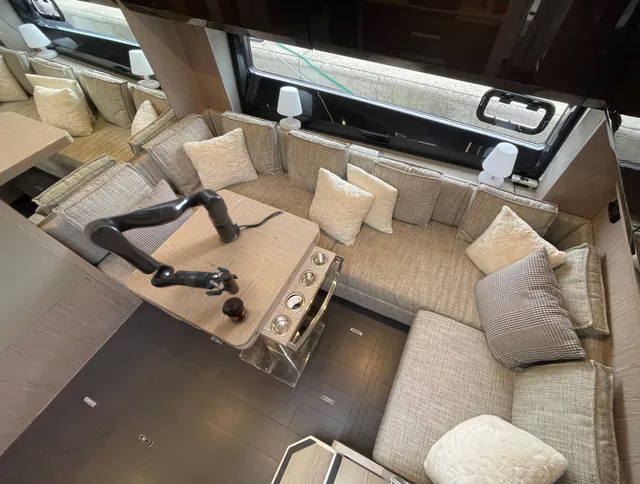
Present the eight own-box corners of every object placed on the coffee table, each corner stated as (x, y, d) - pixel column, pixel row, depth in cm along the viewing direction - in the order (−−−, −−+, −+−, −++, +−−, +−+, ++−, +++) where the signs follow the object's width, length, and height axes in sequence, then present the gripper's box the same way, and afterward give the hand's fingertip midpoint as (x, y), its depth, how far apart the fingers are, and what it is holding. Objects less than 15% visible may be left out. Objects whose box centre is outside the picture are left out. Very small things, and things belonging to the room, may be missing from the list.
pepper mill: (232, 283, 134) (223, 269, 123) (241, 286, 133) (233, 272, 122) (225, 292, 131) (215, 278, 120) (235, 296, 130) (225, 282, 119)
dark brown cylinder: (238, 328, 124) (230, 318, 114) (226, 318, 127) (216, 307, 117) (253, 312, 129) (245, 301, 119) (240, 303, 132) (232, 291, 122)
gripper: (187, 290, 119) (226, 294, 119) (202, 261, 128) (238, 265, 128) (194, 297, 125) (231, 301, 124) (207, 269, 134) (242, 273, 134)
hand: (234, 283), depth 126 cm, fingers closed on pepper mill, 5 cm apart
